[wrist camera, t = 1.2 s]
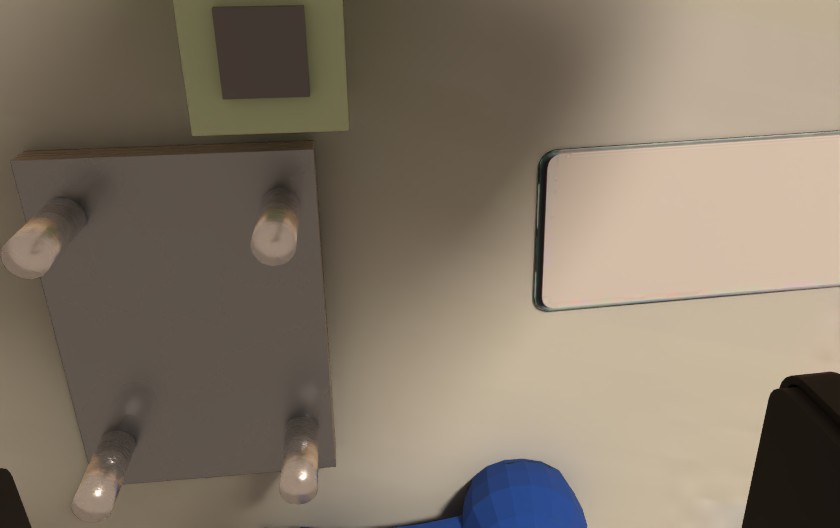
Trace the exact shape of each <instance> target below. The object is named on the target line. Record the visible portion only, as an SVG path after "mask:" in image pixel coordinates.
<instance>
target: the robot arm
mask: <svg viewBox="0 0 840 528" xmlns="http://www.w3.org/2000/svg"><path fill="white" fill-rule="evenodd" d="M0 528H31V525H30V522H29V520H28V517H27V514H26V512H25V509H24V506H23V504H22V501H21V498H20V496H19V493H18V490H17V488H16V485H15V482H14V479H13V477H12V475H11V473H10V472H9V471H8V470H7V469H3V468H1V469H0ZM742 528H840V374H838V373H835V372H824V373H814V374H804V375H794V376H789V377H786V378H785V379H784V380H783V381H782V383H781V385H780V388H779V389H776V390H773V392H772V393H771V394H770V397H769V400H768V405H767V409H766V414H765V419H764V424H763V428H762V433H761V438H760V443H759V448H758V452H757V457H756V462H755V467H754V471H753V476H752V481H751V486H750V490H749V495H748V500H747V505H746V510H745V514H744V519H743V524H742Z"/></svg>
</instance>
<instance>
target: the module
mask: <svg viewBox="0 0 840 528" xmlns="http://www.w3.org/2000/svg"><path fill="white" fill-rule="evenodd" d="M172 1H173V8H174V15H175V22H176V29H177V35H178V42H179V49H180V56H181V63H182V70H183V77H184V84H185V91H186V98H187V105H188V112H189V119H190V126H191V133H192V136H211V135H240V134H268V133H297V132H326V131H349V119H348V99H347V79H346V58H345V38H344V18H343V0H172Z"/></svg>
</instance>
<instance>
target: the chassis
mask: <svg viewBox="0 0 840 528" xmlns="http://www.w3.org/2000/svg"><path fill="white" fill-rule="evenodd" d="M10 162H11V166H12V169H13V173H14V177H15V181H16V185H17V189H18V193H19V196H20V200H21V204H22V208H23V212H24V216H25V220H26V224H25V225H24V226H23V227H22V228H21V229H20V230H19V231H18V232H16V233H15V234H14V235H13V236H12V237H11V238H10V239H9V240H8V241H7V242H6V243H5V244H4V246H3V247H2V250H1V260H2V262H3V264H4V266H5V267H6V269H7V270H8V271H9V272H11V273H12V274H14V275H15V276H18V277H20V278H24V279H35V278H39V277H40V278H41V282H42V286H43V289H44V293H45V297H46V301H47V305H48V309H49V313H50V316H51V320H52V324H53V328H54V332H55V336H56V340H57V344H58V347H59V351H60V355H61V359H62V363H63V367H64V371H65V375H66V378H67V382H68V386H69V390H70V394H71V398H72V402H73V406H74V409H75V413H76V417H77V421H78V425H79V429H80V433H81V436H82V440H83V444H84V448H85V452H86V456H87V460H88V464H89V465H88V467H87V470H86V472H85V474H84V476H83V478H82V481H81V483H80V485H79V487H78V490H77V492H76V494H75V496H74V498H73V501H72V503H71V509H72V511H73V513H74V514H75V515H76V516H77V517H78V518H80V519H82V520H84V521H88V522H98V521H102V520H104V519H106V518H107V517H108V516H109V515H110V514H111V512H112V509H113V506H114V504H115V501H116V498H117V496H118V493H119V490H120V488H121V485H122V484H132V483H144V482H156V481H168V480H180V479H192V478H205V477H217V476H229V475H241V474H253V473H265V472H278V471H281V477H280V487H279V492H280V495H281V497H282V498H283V499H284V500H285V501H287V502H289V503H292V504H304V503H307V502H309V501H311V500H312V499H313V498H314V497H315V496H316V494H317V487H318V468H326V467H336V443H335V429H334V416H333V402H332V388H331V374H330V360H329V346H328V332H327V318H326V304H325V290H324V276H323V262H322V249H321V235H320V221H319V207H318V193H317V179H316V165H315V151H314V140H312V141H285V142H258V143H231V144H204V145H177V146H150V147H123V148H96V149H69V150H42V151H24V152H22V153H21V154H20V155H18V156H17V157H15V158H14V159H13V160H11V161H10Z"/></svg>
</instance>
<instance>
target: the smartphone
mask: <svg viewBox="0 0 840 528" xmlns="http://www.w3.org/2000/svg"><path fill="white" fill-rule="evenodd" d="M836 286H840V130H839V131H824V132H809V133H794V134H779V135H764V136H749V137H734V138H719V139H704V140H689V141H674V142H659V143H644V144H629V145H614V146H599V147H584V148H569V149H555V150H552V151H550V152H548V153H546V154H545V155H544V156H543V157H542V159H541V160H540V163H539V168H538V193H537V219H536V245H535V273H534V302H535V304H536V306H537V307H538V308H539V309H541V310H544V311H559V310H571V309H582V308H594V307H605V306H617V305H628V304H640V303H651V302H663V301H674V300H686V299H697V298H709V297H720V296H732V295H743V294H755V293H766V292H778V291H789V290H801V289H812V288H824V287H836Z"/></svg>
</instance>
